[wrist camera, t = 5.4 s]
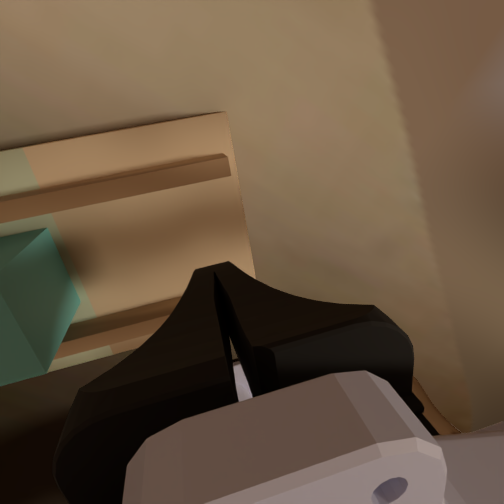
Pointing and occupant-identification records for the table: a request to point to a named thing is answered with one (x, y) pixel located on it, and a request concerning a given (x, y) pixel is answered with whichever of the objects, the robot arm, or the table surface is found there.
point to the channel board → (129, 222)
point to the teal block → (32, 304)
